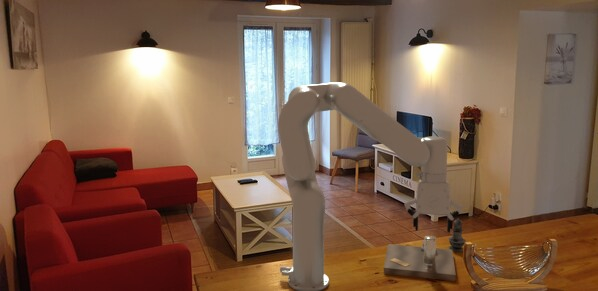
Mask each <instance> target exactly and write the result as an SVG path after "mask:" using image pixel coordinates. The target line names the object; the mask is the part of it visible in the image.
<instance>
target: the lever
mask: <svg viewBox="0 0 598 291" xmlns="http://www.w3.org/2000/svg"><path fill="white" fill-rule="evenodd" d="M423 238H424V239H423V240H422V246H423V247H424V259H423V262H424V263H426V265H431V266H432V264H434V263H435V256H436V248H437V237H436V236H434V235H433V236H432V235H425V236H424V237H423Z"/></svg>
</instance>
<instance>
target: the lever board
mask: <svg viewBox="0 0 598 291" xmlns="http://www.w3.org/2000/svg"><path fill="white" fill-rule="evenodd" d="M386 249H387V250H386V252H385V260H384V263H383V264H384V265H383V274H386V275H395V276H404V277H405V276H406V277H413V278H414V277H415V278H422V279H423V278H424V279H434V280H443V281H452V282H456V278H457V277H456V276H457V274H456V267H455V260H454V256H453V253H454V252H453V251H452V250H450V249H449V248H448V249H447V248H438V247H436V256H435V263H434V264H432V266H431V265H426V263H424V262H423V259H424V247H423V245H422V246H416V245H415V246H412V245H403V244H402V245H400V244H391V243H389V244H387V248H386Z"/></svg>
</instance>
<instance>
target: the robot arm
mask: <svg viewBox="0 0 598 291" xmlns="http://www.w3.org/2000/svg"><path fill="white" fill-rule="evenodd" d="M327 111H336V112H337V113H339V114H340V115H341V116H343V118H345V119H346V120H348V121H349V122H350V123H351V124H353V126H355V127H356V128H358V129H359V130H361V131H362V132H363V133H365V135H367V136H368V137H369V138H371V139H372V140H375V141H377V142H379V143H380V144H382V145H383V146H384V147H386V148H387V149H389V150H390V151H391V152H393V153H394V154H395V155H396V157H397V158H398V159H399V160H401V161H403V162H405V163H406V164H408V165H409V166H412V167H415V168H417V167H418V168H419V167H420V170H421V171H420V172H417V173H416V175H415V176H416V178H419V180H418V183H417V189H416V197H415V198H413V199H411V200H408V201H405V202H404V207H405V209H406V211H407V213H408V214H409V215H410V216H411V217H412V218H413V219H412V221H413V222H412V224H413V225H412V226H413V228H415V230H414V231H419V216H420V215H430V216H432V215H433V216H446V217H447V220H446V222H447V224H446V230H447V233H450V234H451V230H452V229H453V225H454V221H455V220H454V219H455V218H458V216H459V215H460V213H461V212H462V210H463V205H462V204H461V203H459V202H457V201H456V200H455V201H454V200H453V199H451V186H450V182H449V181H448V180H447V176H448V175H447V174H448V173H447V169H448V168H447V167H448V140H447V139H446V138H445V137H443V136H432V135H431V136H425V137H418V136H417V135H415V134H413V133H412V132H411V131H410V130H409V129H408V128H406V127H405V126H403V125H402V123H400V122H398V121H397V120H396V119H395V118H393V117H392V116H391V115H390V114H388V112H386V111H385V110H383V109H382V108H381V107H379V105H377V104H376V103H374V102H373V101H372V100H371V99H369V98H368V97H367V96H366V95H365V94H363V93H362V92H360V90H358V89H357V88H356V87H354V86H353V85H351V84H349V83H347V82H341V81H340V82H339V81H336V82H327V83H319V84H307V85H298V86H296V87H294V88H293V89H292V90H291V91H290V92H289V95H288V98H287V101H286V102H285V104H283V106H282V108H281V111H280V113H279V116H278V120H277V121H278V122H277V124H278V125H277V129H278V135H279V136H278V137H279V141H280V147H281V151H282V156H281V162H282V167H283V172H284V177H285V180H286V184H287V188H288V193H289V196H290V199H291V203H292V230H291V231H292V266H283V265H281V266H280V268H279V272H280V273H281V276H284V277H285V276H286V277H288V279H287V282H288V283H287V284H288V286H289V287H290V288H292V289H293V290H295V291H322V290H324V289H326V288H327V287H328V286H329V284H330V279H329V276H328V275H326V274H325V216H326V215H325V214H326V199H325V194H324V192H323V190H322V189H321V187H320V186H319V183H318V181H317V180H318V179H317V175H316V167H317V166H316V164H317V163H316V158H315V156H314V154H313V149H312V145H311V140H310V134H309V128H308V127H309V122H310V119H311V118H312V117H313V116H314V115H315V114H316V113H318V112H327ZM412 205H415V210H413V208H411V206H412ZM451 206H452V207H454V208H455V210H454V211H452V212H451Z"/></svg>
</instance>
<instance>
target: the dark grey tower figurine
mask: <svg viewBox="0 0 598 291" xmlns="http://www.w3.org/2000/svg"><path fill="white" fill-rule="evenodd" d="M456 218H457V219H455V220H453V227H452V229H451V230H452V236H451V237H448V241H449V245H451V246H449V247H448V249H449V250H452V252H453V253H463V252H464V251H463V248H464V247H463V246H465V243H466V239H465V238H464V237H463V234H462V233H463V231H464V230H463V221H462V220H460V217H456Z"/></svg>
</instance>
